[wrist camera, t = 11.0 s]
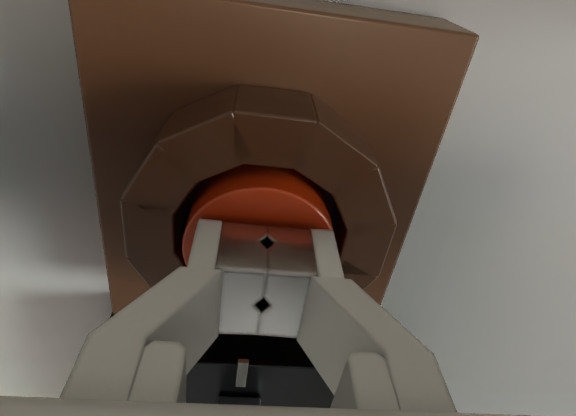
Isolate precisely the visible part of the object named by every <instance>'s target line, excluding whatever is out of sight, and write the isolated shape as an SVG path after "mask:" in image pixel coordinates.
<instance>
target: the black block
mask: <svg viewBox="0 0 576 416" xmlns="http://www.w3.org/2000/svg"><path fill="white" fill-rule="evenodd" d="M114 315H115V314H114V313H113V312H112V314H111V317H112V316H114ZM111 317H110V318H111ZM219 396H231V397H256V398H260V399H261V406H284V407H311V408H330V407H331V404H332V401H333V398H334V395H333V393H332V392H331V390H330V389H329V387H328V386H327V384H326V383H325V381H324V380H323V378H322V377H321V375H320V374H319V373H318V371H317V370H316V368H315V367H314V365H313V364H312V362H311V361H310V359H309V358H308V356H307V355H306V353H305V352H304V350H303V349H302V347H301V346H300V344H299V343H298V341H297V338H289V337H276V336H264V335H243V334H218V337H217V338H216V340H215V341H214V342H213V343H212V344H211V346H210V347H209V348H208V349H207V351H206V352H205V353H204V354H203V355H202V357H201V358H200V359H199V360H198V362H197V363H196V364H195V365H194V367H193V368H192V369H191V370H190V371H189V373H188V374H187V375H186V403H203V404H217V399H218V397H219Z"/></svg>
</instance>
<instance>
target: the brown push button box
mask: <svg viewBox="0 0 576 416" xmlns="http://www.w3.org/2000/svg"><path fill="white" fill-rule="evenodd" d="M68 2H69V9H70V16H71V23H72V30H73V37H74V44H75V51H76V58H77V65H78V72H79V79H80V86H81V93H82V100H83V107H84V114H85V121H86V128H87V135H88V142H89V149H90V156H91V163H92V170H93V177H94V184H95V191H96V198H97V205H98V212H99V219H100V226H101V233H102V240H103V247H104V254H105V261H106V268H107V275H108V282H109V289H110V296H111V303H112V310H113V313H114V314H116V313H118V312H119V311H120V310H122V309H123V308H125V307H126V306H127V305H129V304H130V303H131V302H133V301H134V300H135V299H137V298H138V297H139V296H141V295H142V294H143V293H145V292H146V291H147V290H149V289H150V288H152V287H153V286H154V285H156V284H157V283H158V282H160V281H161V280H162V279H164V278H165V277H166V276H168V275H169V274H170V273H172V272H173V271H174V270H176V269H177V268H179V267H180V266H181V267H187V266H186V264H185V261H184V257H183V252H182V240H183V235H184V231H185V227H186V224H187V220H188V217H189V213H190V210H191V206H192V202H193V199H194V195H195V192H196V190H197V188H198V186H199V184H200V183H201V181H202V180H204V179H207V178H210V177H212V176H215V175H217V174H220V173H222V172H225V171H227V170H230V169H232V168H235V167H238V166H240V165H243V164H248V165H258V166H267V167H277V168H287V169H295V170H296V171H298V172H299V173H301V174H302V175H304V176H305V177H307V178H308V179H310V180H311V181H312V182H314V183H315V184H317V185H318V186H320V187H321V188H323V190H324V193H325V196H326V200H327V204H328V208H329V213H330V217H331V222H332V226H333V231H334V235H335V240H336V244H337V249H338V253H339V257H340V261H341V266H342V270H343V274H344V278H345V279H351V280H353V281H354V282H355V283H356V284H357V285H358V286H359V287H360V288H361V289H362V290H364V291H365V292H366V293H367V294H368V295H369V296H370V297H371V298H372V299H374V300H375V301H376V302H377V303H378V304H379V305H381V302H382V299H383V297H384V294H385V291H386V288H387V286H388V283H389V280H390V278H391V275H392V272H393V269H394V267H395V264H396V261H397V259H398V256H399V253H400V251H401V248H402V245H403V242H404V240H405V237H406V234H407V232H408V229H409V226H410V223H411V221H412V218H413V215H414V213H415V210H416V207H417V204H418V202H419V199H420V196H421V194H422V191H423V188H424V186H425V183H426V180H427V177H428V175H429V172H430V169H431V167H432V164H433V161H434V158H435V156H436V153H437V150H438V148H439V145H440V142H441V139H442V137H443V134H444V131H445V129H446V126H447V123H448V120H449V118H450V115H451V112H452V110H453V107H454V104H455V102H456V99H457V96H458V93H459V91H460V88H461V85H462V83H463V80H464V77H465V74H466V72H467V69H468V66H469V64H470V61H471V58H472V55H473V53H474V50H475V47H476V45H477V42H478V39H479V35H477V34H476V33H474V32H471V31H469V30H467V29H465V28H463V27H461V26H459V25H456V24H454V23H452V22H450V21H448V20H446V19H442V18H435V17H428V16H422V15H415V14H408V13H401V12H395V11H388V10H381V9H374V8H367V7H361V6H354V5H347V4H340V3H334V2H327V1H320V0H68Z"/></svg>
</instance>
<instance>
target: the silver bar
mask: <svg viewBox="0 0 576 416" xmlns="http://www.w3.org/2000/svg"><path fill="white" fill-rule="evenodd" d="M217 404H230V405H257V406H261V399H260V398H256V397H231V396H219V397H218V399H217Z"/></svg>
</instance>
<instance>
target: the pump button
mask: <svg viewBox="0 0 576 416" xmlns="http://www.w3.org/2000/svg"><path fill="white" fill-rule="evenodd" d="M199 219H211V220H221V221H222V222H223V221H231V222H240V223H250V224H259V225H267V226H276V227H288V228H301V229H327V230H332V231H333V226H332V222H331V217H330V213H329V208H328V204H327V200H326V196H325V193H324V190H323V188H321V187H320V186H318V185H317V184H315V183H314V182H312V181H311V180H310V179H308V178H307V177H305V176H304V175H302V174H301V173H299V172H298V171H296V170H295V169H287V168H277V167H267V166H258V165H248V164H243V165H240V166H238V167H235V168H232V169H230V170H227V171H225V172H222V173H220V174H217V175H215V176H212V177H210V178H207V179H204V180H202V181H201V183H200V184H199V186H198V188H197V190H196V192H195V195H194V199H193V202H192V206H191V210H190V213H189V217H188V220H187V224H186V227H185V231H184V235H183V240H182V252H183V257H184V261H185V264H186V266H187V265H188V260H189V256H190V252H191V248H192V244H193V240H194V235H195V231H196V227H197V223H198V221H199ZM333 232H334V231H333ZM334 236H335V235H334Z"/></svg>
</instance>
